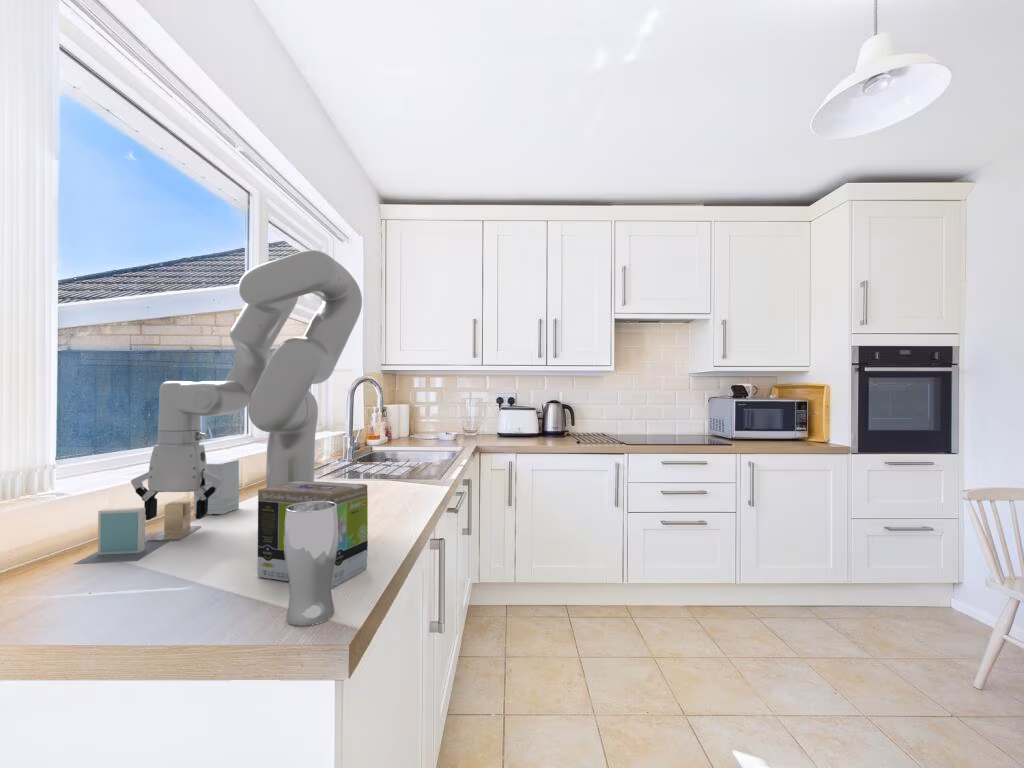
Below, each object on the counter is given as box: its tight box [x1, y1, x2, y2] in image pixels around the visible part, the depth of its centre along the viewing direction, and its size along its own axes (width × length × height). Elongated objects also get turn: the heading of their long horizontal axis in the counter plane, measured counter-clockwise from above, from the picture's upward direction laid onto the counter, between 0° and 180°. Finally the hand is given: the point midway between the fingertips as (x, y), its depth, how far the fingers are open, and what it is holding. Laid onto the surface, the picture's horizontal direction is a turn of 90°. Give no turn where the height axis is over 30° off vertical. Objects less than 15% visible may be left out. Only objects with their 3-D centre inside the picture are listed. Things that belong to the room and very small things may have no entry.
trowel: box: [145, 500, 202, 542], centre depth 107 cm, size 10×6×7 cm, turn 9°
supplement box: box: [193, 459, 240, 516], centre depth 128 cm, size 7×7×13 cm
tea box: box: [257, 480, 369, 589], centre depth 85 cm, size 15×10×15 cm, turn 71°
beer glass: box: [283, 501, 338, 627], centre depth 69 cm, size 7×7×15 cm
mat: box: [73, 541, 170, 565], centre depth 95 cm, size 10×12×1 cm
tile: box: [97, 507, 146, 555], centre depth 95 cm, size 2×7×8 cm, turn 101°
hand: (176, 518), depth 109 cm, fingers open, 9 cm apart
